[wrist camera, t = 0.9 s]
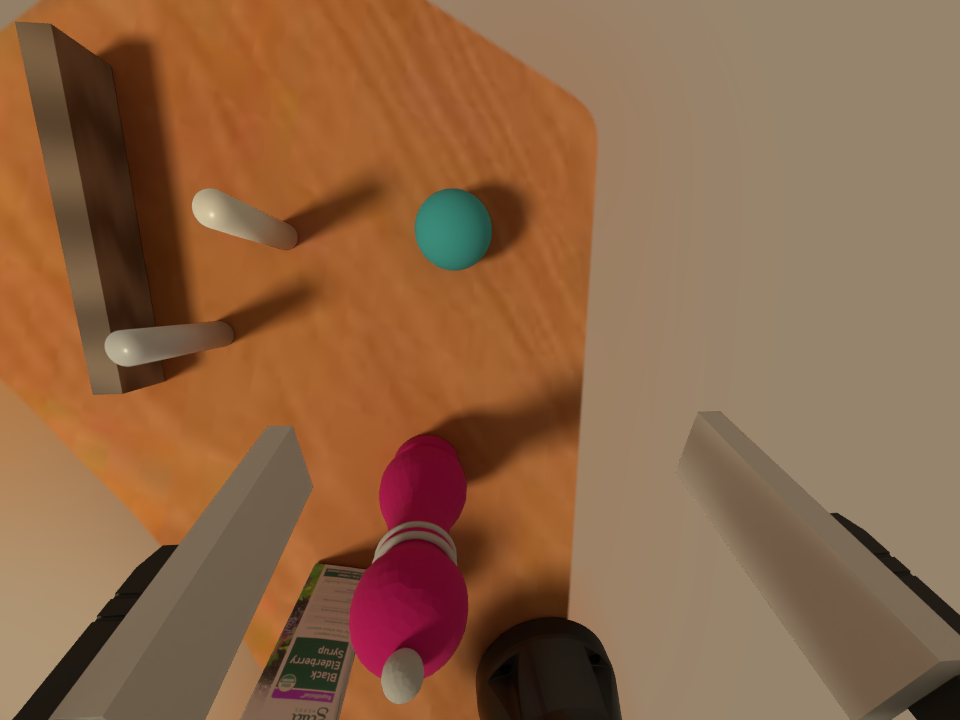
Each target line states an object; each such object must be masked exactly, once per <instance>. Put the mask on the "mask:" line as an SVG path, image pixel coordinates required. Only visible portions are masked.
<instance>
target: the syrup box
mask: <svg viewBox="0 0 960 720" xmlns="http://www.w3.org/2000/svg"><path fill="white" fill-rule="evenodd" d="M366 570H367V569H358V568H352V567H344V566H335V565H326V564H318V563H317V564H315V565H314V567H313V569H312V571H311V573H310V576H309V578H308V580H307V582H306V584H305V586H304V588H303V590H302V592H301V594H300V596H299V599H298V600H297V603H296V605H295V607H294V609H293V611H292V613H291V615H290V617H289V619H288V621H287V623H286V625H285V627H284V629H283V632H282V634H281V636H280V638H279V640H278V642H277V644H276V646H275V648H274V650H273V652H272V654H271V656H270V659H269V661H268V663H267V665H266V667H265V669H264V671H263V673H262V675H261V677H260V679H259V681H258V683H257V685H256V687H255V689H254V691H253V694H252V695H251V697H250V699H249V702H248V704H247V706H246V708H245V710H244V712H243V714H242V716H241V718H240V720H339V717H340V713H341V709H342V705H343V701H344V697H345V693H346V689H347V685H348V681H349V677H350V673H351V668H352V665H353V661H354V657H355V653H356V652H355V651H354V649H353V646H352V643H351V638H350V630H349V614H350V607H351V603H352V599H353V595H354V591H355V589H356V587H357V585H358V583H359V581H360V579H361V577H362V575H363V573H364V572H365V571H366Z"/></svg>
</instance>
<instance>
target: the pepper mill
mask: <svg viewBox="0 0 960 720" xmlns="http://www.w3.org/2000/svg"><path fill="white" fill-rule="evenodd" d="M466 489H467V484H466V477H465V474H464V471H463V469H462V467H461V465H460V464H459V459H458V456H457V453H456V451H455V449H454V448H453V447H452V445H451V444H450V443H448V442H447V441H446V440H444V439H442V438H440V437H437V436H433V435H421V436H417V437H414V438H412V439H410V440H408V441H407V442H405V443H404V444H403V445H402V446H401V447H400V448H399V450H398V451H397V453H396V455H395V458H394V459H393V460H392V461H391V463H390V464H389V465H388V466H387V468H386V470H385V472H384V474H383V476H382V480H381V485H380V490H379V501H380V508H381V512H382V515H383V517H384V519H385V521H386V524H387V526H388V533H386V534H385V535H384V536H383V538H382V539H381V540H380V542H379V544H378V546H377V548H376V551H375V557H374V559H373V562H372V564H371V565H370V566H369V567H368V569H367V570H366V571H365V572H364V573H363V575H362V577H361V579H360V581H359V583H358V585H357V587H356V589H355V591H354V595H353V599H352V603H351V607H350V614H349V630H350V638H351V643H352V646H353V649H354V651H355V652H356V654H357V656H358V658H359V660H360V662H361V663H362V664H363V665H364V666H365V667H366V668H367V669H368V670H369V671H370V672H372V673H373V674H375V675H376V676H378V677H380V678H381V685H382V688H383V691H384V694H385V696H386V697H387V698H388V699H389V700H390V701H391V702H393V703H396V704H403V703H407V702H408V701H410V700H411V699H413V698H414V697H415V695H416V694H417V693H418V691H419V690H420V688H421V685H422V682H423V678H426V677H428V676H430V675H432V674H433V673H435V672H436V671H437V670H439V669H440V668H441V667H442V666H444V665H445V664H446V663H447V661H448V660H449V659H450V658H451V657H452V655H453V654H454V652H455V651H456V649H457V647H458V645H459V643H460V641H461V639H462V637H463V634H464V632H465V627H466V622H467V616H468V594H467V588H466V584H465V581H464V578H463V576H462V574H461V572H460V570H459V569H458V567H457V553H456V547H455V544H454V542H453V540H452V538H451V537H450V536H449V531H450V528H451V527H452V526H453V525H454V523H455V522H456V520H457V519H458V518H459V516H460V514H461V512H462V509H463V507H464V504H465V500H466Z"/></svg>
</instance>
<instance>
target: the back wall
mask: <svg viewBox="0 0 960 720" xmlns="http://www.w3.org/2000/svg"><path fill="white" fill-rule="evenodd" d="M15 24H16V29H17V33H18V38H19V43H20V48H21V53H22V57H23V62H24V67H25V72H26V77H27V81H28V86H29V91H30V96H31V100H32V105H33V110H34V115H35V120H36V124H37V129H38V134H39V139H40V144H41V148H42V153H43V158H44V163H45V167H46V172H47V177H48V182H49V187H50V191H51V196H52V201H53V206H54V211H55V215H56V220H57V225H58V230H59V234H60V239H61V244H62V249H63V254H64V258H65V263H66V268H67V273H68V278H69V282H70V287H71V292H72V297H73V301H74V306H75V311H76V316H77V321H78V325H79V330H80V335H81V340H82V345H83V349H84V354H85V359H86V364H87V368H88V373H89V378H90V383H91V388H92V392H93V395H100V394H123V393H127V392H130V391H134V390H137V389H141V388H144V387H147V386H151V385H154V384H158V383H161V382H164V381H165V379H164V373H163V368H162V362H161V360H158V361H154V362H149V363H144V364H139V365H135V366H129V367H128V366H121V365H118V364H116V363H115V362H113V361H112V360H111V359H110V358H109V357H108V355H107V354H106V351H105V341H106V338H107V337H108V336H109V335H110V334H111V333H113V332H115V331H118V330H129V329H139V328H150V327H155V321H154V315H153V309H152V303H151V297H150V291H149V286H148V280H147V274H146V268H145V262H144V256H143V250H142V245H141V239H140V233H139V227H138V221H137V215H136V209H135V204H134V198H133V192H132V186H131V180H130V174H129V168H128V163H127V157H126V151H125V145H124V139H123V133H122V127H121V122H120V116H119V110H118V104H117V98H116V92H115V86H114V81H113V75H112V69H111V66H110V65H109V64H108V63H106V62H105V61H103V60H102V59H100V58H99V57H98V56H96V55H95V54H93V53H92V52H90V51H89V50H88V49H86V48H85V47H83V46H82V45H80V44H79V43H78V42H76V41H75V40H73V39H72V38H70V37H69V36H68V35H66V34H65V33H63V32H62V31H60V30H59V29H57V28H56V27H55V26H53V25H52V24H45V23H29V22H15Z"/></svg>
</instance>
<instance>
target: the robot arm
mask: <svg viewBox="0 0 960 720" xmlns="http://www.w3.org/2000/svg"><path fill="white" fill-rule="evenodd" d="M675 472H676V473H677V475H678V476H679V478H680V479H681V481H682V482H683V483H684V485H685V486H686V488H687V489H688V490H689V492H690V493H691V495H692V496H693V498H694V499H695V500H696V502H697V503H698V505H699V506H700V508H701V509H702V510H703V512H704V513H705V514H706V516H707V517H708V519H709V520H710V522H711V523H712V524H713V526H714V527H715V529H716V530H717V532H718V533H719V534H720V536H721V537H722V539H723V540H724V541H725V543H726V544H727V546H728V547H729V549H730V550H731V551H732V553H733V554H734V556H735V557H736V558H737V560H738V561H739V563H740V564H741V566H742V567H743V568H744V570H745V571H746V573H747V574H748V575H749V577H750V578H751V580H752V581H753V583H754V584H755V585H756V587H757V588H758V590H759V591H760V592H761V594H762V595H763V597H764V598H765V599H766V601H767V602H768V604H769V605H770V607H771V608H772V609H773V610H774V612H775V614H776V615H777V616H778V618H779V619H780V621H781V622H782V624H783V625H784V626H785V628H786V629H787V631H788V632H789V633H790V635H791V636H792V638H793V639H794V640H795V642H796V643H797V645H798V646H799V648H800V649H801V650H802V652H803V653H804V655H805V656H806V657H807V659H808V660H809V662H810V663H811V665H812V666H813V667H814V669H815V670H816V671H817V673H818V674H819V676H820V677H821V679H822V680H823V682H824V683H825V684H826V686H827V687H828V688H829V690H830V691H831V693H832V694H833V696H834V697H835V698H836V700H837V701H838V703H839V704H840V706H841V707H842V708H843V710H844V711H845V713H846V714H847V715H848V717H849V718H850V720H891V719H893V718H894V717H896V716H897V715H899V714H900V713H902V712H903V711H905V710H906V709H909V711H910V712H911V713H912V714H913V715H914V717H915V718H916V719H917V720H960V615H959V614H958V613H957V612H955V611H954V610H953V609H952V608H951V607H950V606H949V605H948V604H947V603H945V602H944V601H943V600H942V599H941V598H940V597H939V596H938V595H937V594H935V593H934V592H933V591H932V590H931V589H930V588H929V587H928V586H926V585H925V584H924V583H923V582H922V581H921V580H920V579H919V578H918V577H916V576H913V575H911V573H910V570H909V569H907V568H906V567H905V566H904V565H903V564H902V563H901V562H900V561H899V560H897V559H896V558H895V557H891V556H890V554H889V553H890V552H889V551H887V550H886V549H885V548H884V547H883V546H882V545H881V544H879V543H878V542H877V541H876V540H875V539H874V538H873V537H872V536H871V535H869V534H868V533H867V532H866V531H865V530H863V529H862V528H860V527H859V526H857V525H856V524H854V523H852V522H851V521H849V520H848V519H846V518H844V517H843V516H841V515H840V514H838V513H828V512H827V511H826V510H825V509H824V508H823V507H822V506H821V505H820V504H819V503H818V502H817V501H816V500H814V499H813V498H812V497H811V496H810V495H809V494H808V493H807V492H806V491H805V490H804V489H803V488H802V487H801V486H800V485H798V484H797V483H796V482H795V481H794V480H793V479H792V478H791V477H790V476H789V475H788V474H787V473H786V472H785V471H784V470H782V469H781V468H780V467H779V466H778V465H777V464H776V463H775V462H774V461H773V460H772V459H771V458H770V457H769V456H768V455H766V454H765V453H764V452H763V451H762V450H761V449H760V448H759V447H758V446H757V445H756V444H755V443H754V442H752V441H751V440H750V439H749V438H748V437H747V436H746V435H745V434H744V433H743V432H742V431H741V430H740V429H739V428H738V427H736V426H735V425H734V424H733V423H732V422H731V421H730V420H729V419H728V418H727V417H726V416H725V415H724V414H723V413H722V412H720V411H711V412H698V413H697V415H696V418H695V421H694V423H693V426H692V429H691V432H690V434H689V437H688V439H687V442H686V445H685V447H684V450H683V453H682V455H681V458H680V461H679V463H678V466H677V469H676V471H675ZM312 488H313V485H312V482H311V479H310V476H309V473H308V470H307V467H306V464H305V461H304V458H303V455H302V452H301V449H300V446H299V443H298V440H297V437H296V434H295V431H294V428H293V426H268V427H267V428H266V429H265V431H264V432H263V433H262V435H261V436H260V437H259V439H258V440H257V441H256V443H255V444H254V445H253V447H252V448H251V449H250V451H249V452H248V453H247V455H246V456H245V457H244V459H243V460H242V461H241V463H240V464H239V465H238V467H237V468H236V469H235V471H234V472H233V473H232V475H231V476H230V477H229V479H228V480H227V481H226V483H225V484H224V485H223V487H222V488H221V489H220V491H219V492H218V493H217V495H216V496H215V497H214V499H213V500H212V501H211V503H210V504H209V505H208V507H207V508H206V509H205V511H204V512H203V513H202V515H201V516H200V518H199V519H198V520H197V522H196V523H195V524H194V526H193V527H192V528H191V530H190V531H189V532H188V534H187V535H186V536H185V538H184V539H183V540H182V542H181V543H180V544H179V545H163V546H162V547H160V548H159V549H158V550H157V551H156V552H154V553H153V554H152V555H151V556H150V557H148V558H147V559H146V560H145V561H144V562H143V563H141V564H140V565H139V566H138V567H136V569H135V570H134V571H133V572H132V574H131V575H130V576H129V577H128V578H127V580H126V581H125V582H124V583H123V585H122V586H121V587H120V589H119V590H118V591H117V592H116V593H115V597H114V598H113V599H111V600H110V601H109V602H108V603H107V604H106V605H105V607H104V608H103V609H102V610H101V612H100V613H99V614H98V615H97V619H96V621H95V622H92V623H91V624H90V625H89V626H88V628H87V629H86V630H85V631H84V633H83V634H82V635H81V636H80V637H79V639H78V640H77V641H76V642H75V644H74V645H73V646H72V647H71V649H70V650H69V651H68V652H67V653H66V655H65V656H64V657H63V658H62V660H61V661H60V662H59V663H58V665H57V666H56V667H55V668H54V670H53V671H52V672H51V673H50V674H49V676H48V677H47V678H46V679H45V681H44V682H43V683H42V684H41V686H40V687H39V688H38V689H37V690H36V692H35V693H34V694H33V695H32V697H31V698H30V699H29V700H28V701H27V703H26V704H25V705H24V706H23V708H22V709H21V710H20V711H19V713H18V714H17V715H16V716H15V717H14V718H13V719H12V720H205V719H206V716H207V715H208V713H209V710H210V708H211V706H212V704H213V701H214V699H215V697H216V695H217V693H218V691H219V689H220V687H221V684H222V682H223V680H224V678H225V676H226V674H227V672H228V669H229V667H230V665H231V663H232V661H233V659H234V656H235V654H236V652H237V650H238V648H239V646H240V643H241V641H242V639H243V637H244V635H245V633H246V631H247V628H248V626H249V624H250V622H251V620H252V618H253V615H254V613H255V611H256V609H257V607H258V605H259V602H260V600H261V598H262V596H263V594H264V592H265V590H266V587H267V585H268V583H269V581H270V579H271V577H272V574H273V572H274V570H275V568H276V566H277V564H278V562H279V559H280V557H281V555H282V553H283V551H284V549H285V546H286V544H287V542H288V540H289V538H290V536H291V533H292V531H293V529H294V527H295V525H296V523H297V521H298V518H299V516H300V514H301V512H302V510H303V508H304V505H305V503H306V501H307V499H308V497H309V495H310V492H311V490H312ZM476 694H477V706H478V712H479V716H480V720H622V717H621V711H620V704H619V698H618V691H617V685H616V679H615V674H614V671H613V668H612V665H611V662H610V660H609V658H608V656H607V654H606V651H605V649H604V647H603V645H602V643H601V642H600V640H599V639H598V637H597V636H596V635H595V634H594V633H593V632H592V631H590V630H589V629H587V628H586V627H585V626H583V625H581V624H579V623H576V622H574V621H571V620H566V619H560V618H543V619H537V620H532V621H529V622H526V623H523V624H520V625H518V626H516V627H514V628H512V629H510V630H509V631H507V632H506V633H504V634H503V635H502V636H500V637H499V638H498V639H497V640H496V641H495V642H494V643H493V644H492V645H491V646H490V647H489V649H488V650H487V651H486V653H485V654H484V656H483V658H482V660H481V662H480V664H479V667H478V670H477V675H476Z"/></svg>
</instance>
